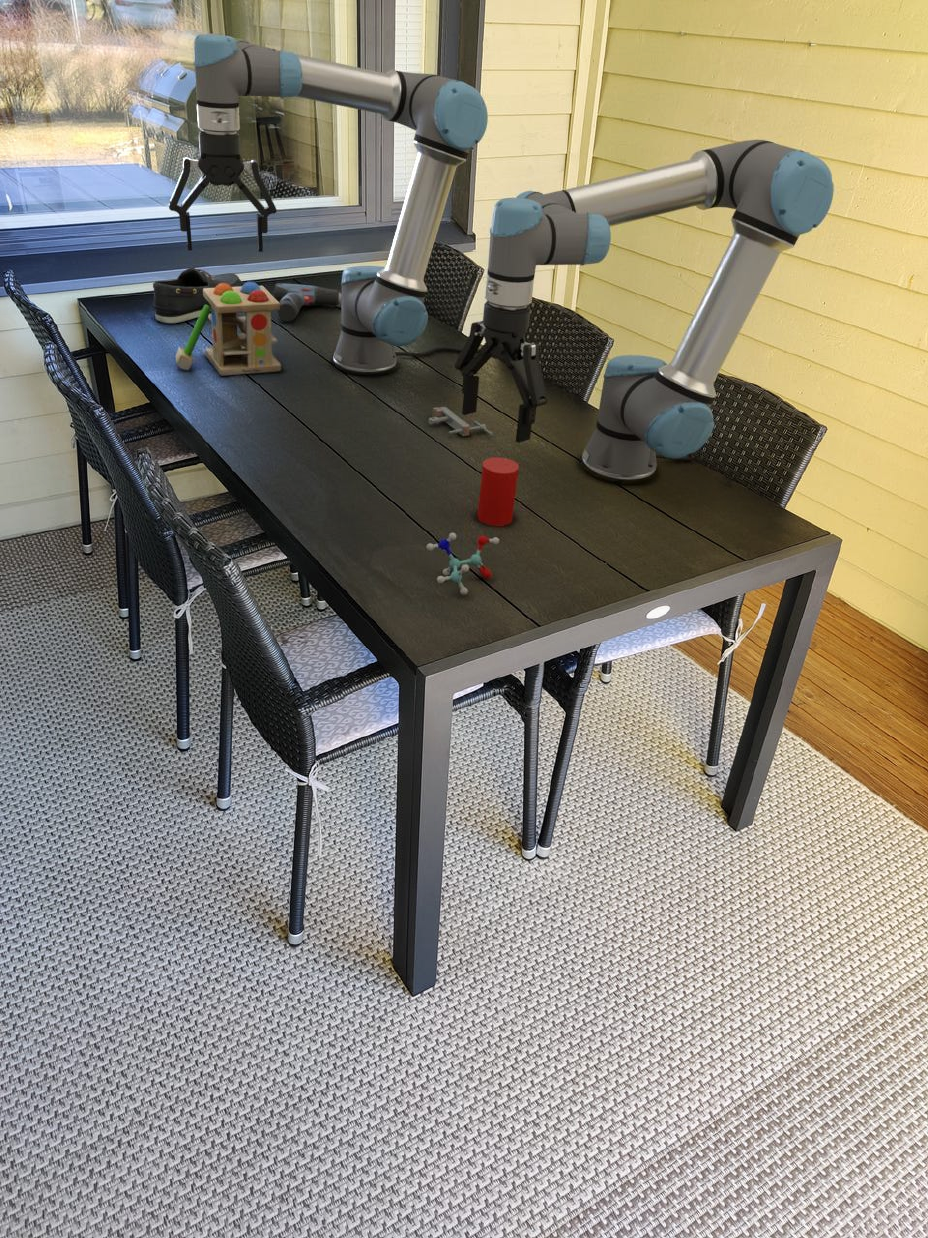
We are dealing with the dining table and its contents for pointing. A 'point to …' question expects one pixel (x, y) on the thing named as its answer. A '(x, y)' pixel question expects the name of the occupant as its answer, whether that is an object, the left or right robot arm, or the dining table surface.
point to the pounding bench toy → (229, 347)
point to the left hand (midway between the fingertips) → (225, 249)
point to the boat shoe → (186, 294)
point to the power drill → (302, 298)
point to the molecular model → (455, 563)
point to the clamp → (455, 422)
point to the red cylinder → (497, 491)
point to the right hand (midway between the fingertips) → (495, 426)
